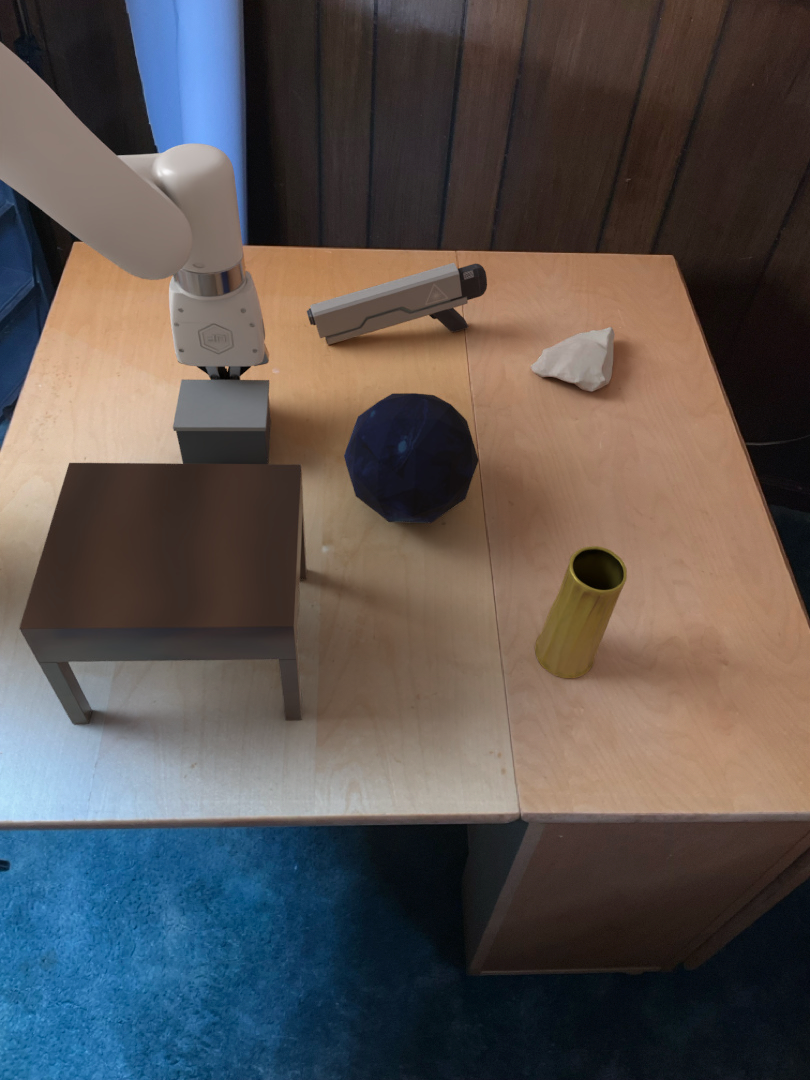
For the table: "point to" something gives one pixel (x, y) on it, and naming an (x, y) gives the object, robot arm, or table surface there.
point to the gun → (400, 303)
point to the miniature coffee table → (170, 571)
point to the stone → (580, 359)
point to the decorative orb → (411, 457)
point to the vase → (581, 612)
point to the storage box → (223, 421)
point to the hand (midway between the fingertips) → (230, 399)
